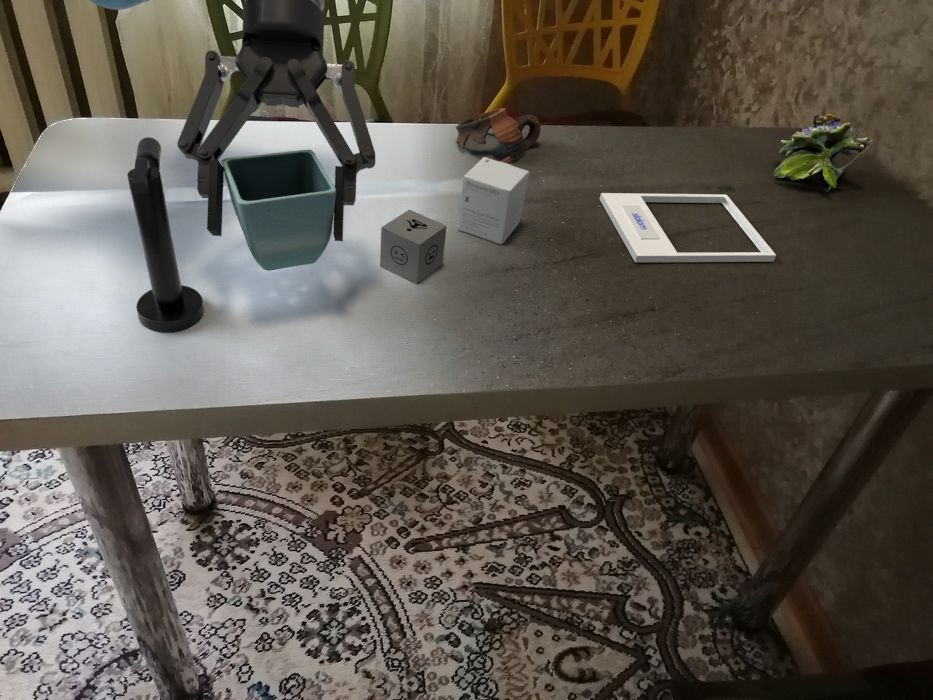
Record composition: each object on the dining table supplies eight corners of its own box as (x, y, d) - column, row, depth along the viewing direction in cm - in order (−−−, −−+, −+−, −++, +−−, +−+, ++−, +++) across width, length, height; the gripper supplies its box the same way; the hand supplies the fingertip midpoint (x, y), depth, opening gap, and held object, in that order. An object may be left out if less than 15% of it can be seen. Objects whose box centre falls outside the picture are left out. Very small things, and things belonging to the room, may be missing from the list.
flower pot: (230, 237, 76) (219, 156, 70) (315, 225, 79) (312, 147, 73) (248, 287, 70) (238, 203, 64) (339, 272, 73) (338, 191, 67)
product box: (455, 230, 89) (461, 175, 85) (476, 208, 94) (483, 155, 89) (502, 246, 88) (511, 190, 83) (521, 223, 92) (530, 169, 87)
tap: (143, 271, 77) (110, 124, 67) (204, 268, 79) (181, 123, 68) (136, 338, 70) (97, 183, 59) (203, 332, 71) (178, 181, 61)
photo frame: (601, 191, 98) (727, 193, 101) (599, 199, 99) (724, 200, 102) (637, 254, 87) (776, 253, 90) (635, 262, 88) (773, 261, 91)
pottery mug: (486, 187, 99) (465, 127, 96) (459, 185, 107) (439, 129, 104) (561, 154, 102) (543, 94, 99) (529, 153, 110) (512, 98, 107)
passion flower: (790, 200, 116) (848, 136, 113) (835, 225, 107) (899, 157, 104) (748, 159, 111) (807, 91, 107) (791, 182, 102) (857, 109, 98)
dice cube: (442, 263, 84) (446, 225, 81) (416, 283, 80) (419, 244, 77) (407, 247, 86) (409, 209, 82) (380, 266, 82) (381, 227, 79)
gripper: (403, 35, 76) (399, 248, 75) (169, 18, 73) (159, 238, 72) (407, -4, 69) (402, 231, 67) (146, -25, 66) (134, 220, 65)
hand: (276, 235), depth 70 cm, fingers closed on flower pot, 11 cm apart
